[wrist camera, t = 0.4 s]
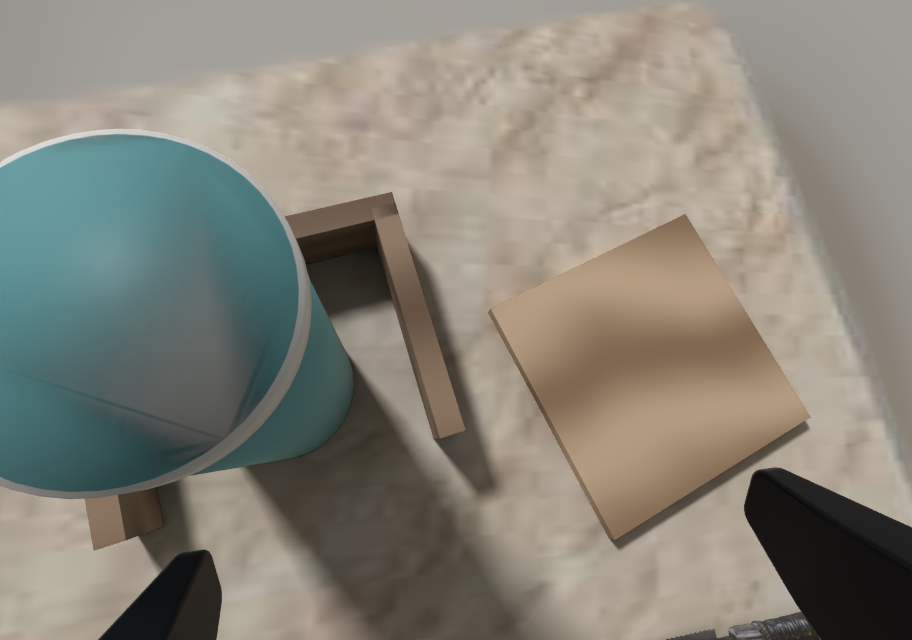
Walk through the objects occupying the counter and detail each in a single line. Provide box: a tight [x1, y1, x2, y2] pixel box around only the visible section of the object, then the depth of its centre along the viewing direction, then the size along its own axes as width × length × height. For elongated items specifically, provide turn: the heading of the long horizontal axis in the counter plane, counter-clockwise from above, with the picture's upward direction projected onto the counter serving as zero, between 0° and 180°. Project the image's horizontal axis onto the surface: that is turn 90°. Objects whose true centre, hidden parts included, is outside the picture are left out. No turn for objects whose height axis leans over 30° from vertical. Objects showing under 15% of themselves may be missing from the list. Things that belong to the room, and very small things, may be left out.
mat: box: [489, 214, 810, 540], centre depth 24 cm, size 11×11×1 cm
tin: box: [0, 129, 354, 499], centre depth 15 cm, size 6×6×14 cm
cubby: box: [85, 192, 465, 550], centre depth 21 cm, size 10×13×3 cm
